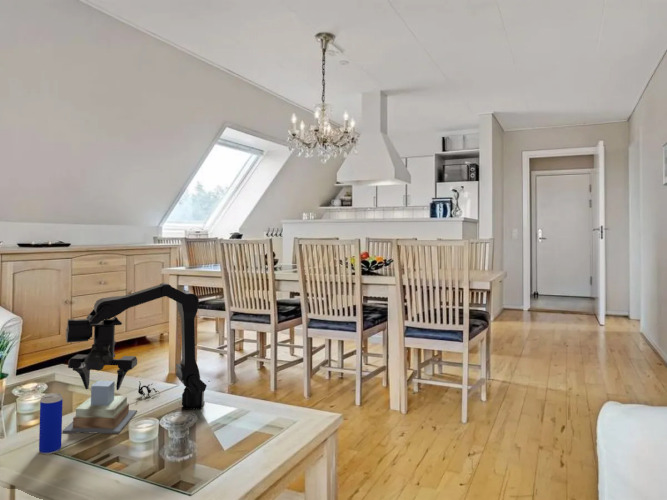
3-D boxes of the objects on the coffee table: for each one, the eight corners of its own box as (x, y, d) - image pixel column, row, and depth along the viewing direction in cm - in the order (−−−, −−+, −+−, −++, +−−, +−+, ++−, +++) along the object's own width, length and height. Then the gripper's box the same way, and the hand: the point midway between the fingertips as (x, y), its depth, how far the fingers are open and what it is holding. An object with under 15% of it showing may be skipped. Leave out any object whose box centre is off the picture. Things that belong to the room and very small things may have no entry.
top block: (114, 399, 148) (114, 381, 148) (107, 405, 143) (108, 386, 143) (97, 399, 148) (98, 380, 148) (90, 405, 143) (91, 385, 143)
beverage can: (58, 444, 130) (59, 391, 129) (63, 451, 127) (65, 396, 126) (36, 449, 127) (38, 395, 126) (41, 457, 123) (43, 400, 122)
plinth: (128, 412, 152) (129, 395, 152) (114, 428, 140) (115, 410, 140) (90, 411, 151) (90, 395, 151) (72, 427, 139) (73, 409, 139)
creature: (158, 394, 174) (135, 391, 171) (162, 380, 174) (139, 377, 172) (158, 402, 167) (135, 399, 164) (162, 387, 167) (139, 384, 164)
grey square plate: (137, 412, 155) (137, 410, 155) (118, 433, 139) (119, 431, 139) (86, 411, 153) (86, 409, 153) (62, 432, 137) (62, 430, 137)
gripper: (59, 345, 136) (58, 398, 137) (126, 347, 137) (124, 399, 138) (77, 336, 147) (75, 385, 148) (138, 338, 149) (136, 386, 149)
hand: (102, 389), depth 145 cm, fingers open, 9 cm apart
